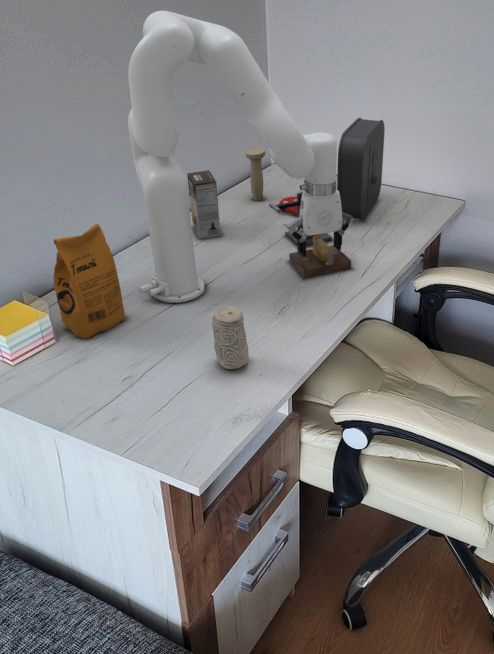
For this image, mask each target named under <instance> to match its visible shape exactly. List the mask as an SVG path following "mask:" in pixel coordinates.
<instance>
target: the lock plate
mask: <svg viewBox="0 0 494 654" xmlns="http://www.w3.org/2000/svg"><path fill="white" fill-rule="evenodd" d="M288 255H289V256H288V257H289V258H288V259H289V263H290V264H291V266H293V268H294V269H295V270H296V271H297V273H298V274H300V276H301V278H303V279H304V280H305V279H309V278H314V277H319V276H325V275H329V274H334V273H341V272H344V271H349V270H352V260H351V259H350V258H349V256H347V255H346V254H345V253H344V252H343V251H342V249H341V250H337V249H336V248H335V247H334V245H333V244H332V245H328V258H327V261H322V262H321V261H320V260H319V259H318V258H317V257H316V256H315V255H314V254H313V248H311V249H306V256H305V257H303V256H302V255H301V254H300V253H299V252H298V251H294V252H290V253H289V254H288Z"/></svg>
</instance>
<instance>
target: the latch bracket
mask: <svg viewBox="0 0 494 654" xmlns="http://www.w3.org/2000/svg"><path fill="white" fill-rule="evenodd" d="M303 192H304V191H301V192H300V193H299V192H297V193H296V197H297V201H298V200H301V198H302V194H303ZM299 214H300V205H299V206H297V215H296V219H297V218H298V217H299ZM299 230H300V226H297V227H296V229H295V231H296V232H297V233H298V232H299ZM284 233H285V234H284V235H285V237H286V238H287V239H288V240H289V241H291V242H292V243H293V244H294V245H296V247H298V241H297V239H296V238H294V237H293V236H292V235H291V233H290V231H289V230H288V231H285V232H284ZM313 236H318V235H313ZM313 236H309V235H308V236H307V238H306V239H305V240H304V241H305V242H306V248H308V247H311V246H312V247H313ZM319 236H320V237H321V238H322V239H323V240H324V241H325V242H326V243H330V242H333V236H331V235H330V234H329V233H325V234H319Z"/></svg>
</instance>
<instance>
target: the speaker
mask: <svg viewBox="0 0 494 654" xmlns="http://www.w3.org/2000/svg"><path fill="white" fill-rule="evenodd" d="M385 132H386V130H385V123H384V120H383V119H379V120H374V119H365V118H364V119H363V118H362V117H357V118H356V119H355V120H354V121H353V122H352V123H351V124H350V125H349V126H348V127H346V129H345V130H344V131H343V132H342V134H341V136H340V140H339V144H338V148H337V169H336V190H338V191H339V193H340V199H341V206H342V212H345V213H347V214H350V215H351V216H352V219H355V220H356V219H357V220H360V221H365V220H366V218H367V217H368V216H369V214H371V213H370V212H371V211H372V210H373V209H374V207H375V206H376V204H377V202H378V199H379V197H380V194H381V190H382V179H383V167H384V166H383V165H384V147H385V145H384V144H385Z"/></svg>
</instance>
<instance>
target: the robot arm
mask: <svg viewBox="0 0 494 654" xmlns="http://www.w3.org/2000/svg"><path fill="white" fill-rule="evenodd" d="M142 35H143V38H142V39H141V40H139V42H138V43H137V45H136V47H135V48H134V50H133V52H132V54H131V57H130V59H129V63H128V72H127V74H128V75H127V77H128V86H129V87H128V89H129V96H130V103H131V108H130V110H129V113H128V117H127V129H128V130H127V131H128V134H129V135H128V136H129V142H130V147H131V153H132V158H133V164H134V169H135V174H136V176H137V179H138V181H139V184H140V186H141V189H142V192H143V196H144V201H145V210H146V220H147V228H148V233H149V240H150V245H151V246H150V247H151V252H152V259H153V265H154V273H155V275H152V276H151V281H149V283H146V284H143V285H141V286H139V287H138V288H137V289H138V292H139V294H140V295H142V296H143V295H146V294H149V295H150V296H151V297H153V298H155V299H156V300H158V301H161V302H164V303H173V304H175V303H176V304H177V303H185V302H189V301H192V300H194V299H197V298H198V297H200V296H201V295H202V294H203V293H204V292H205V286H206V285H205V282H204V280H203V279H202V278H201V277H199V276H198V275H197V274H198V273H197V265H196V256H195V247H194V238H193V237H194V236H193V229H192V221H191V220H192V218H191V203H190V194H189V185H188V178H187V177H186V175H185V172H184V171H183V169H182V167H181V166H180V165H179V163H178V161H177V155H176V148H177V146H178V143H179V137H180V134H179V133H180V131H179V126H178V121H177V114H176V107H175V101H174V100H175V99H174V90H173V80H174V75H175V73H176V71H177V69H178V68H179V67H180V66H181V65H182V64H184V63H185V62H186V61H188V62H191V63H197V64H201V65H206V66H209V67H210V69H211V71H212V72H213V73H214V75H215V76H216V78H217V79H218V80H219V82H220V83H221V86H223V88H224V90H225V91H226V92H227V94H228V97H230V99H231V101H232V102H233V103H234V105H235V106H236V108H237V109H238V111H239V112H240V114H241V115H242V116H243V118H244V119H245V121H247V123H248V124H249V125H250V126H251V127H252V128H253V129H254V130H255V131H256V133H258V134H259V135H260V136H261V138H262V139H263V140H264V142H265V143H266V144H267V146H268V147H269V148H268V149H269V151H268V152H269V155H270V158H271V159H272V161H273V162H274V163H275V165H277V166H278V167H279V168H280V169H281V170H282V171H283V172H284V173H285V174H286V175H287V176H288V177H290V178H292V179H298V180H301V179H304V180H303V183H302V184H299V191H302V192H303V194H302V198H301V204H300V214H299V217H298V218H297V217H296V219H293V221H291V222H290V223H288V224H287V225H286V228H287V229H288V231H290V233H291V235H292V236H293V237H294V238H296V239H297V241H298V246H297V252H299V253H300V254H301V255H302V256H303V257H305V256H306V250H307V247H306V242H305V241H304V240H305V239H306V238H307V236H308V235H309V236H313V235H319V234H325V233H327V234H329V233H330V234H331V233H333V238H332V242H333V244H332V245H334V247H335V248H336V249H337V250H341V251H342V245H343V236H344V235H345V232H346V231H347V229H348V228H349V227H350V224H351V222H352V220H353V218H352V216H351V215H350V214H347V213H345V212H342V206H341V199H340V193H339V191H338V190H337V166H338V141H337V140H338V139H337V138H336V136H335V135H333V134H331V133H330V132H329V133H328V132H320V131H319V132H313V133H310V134H303V133H302V132H301V130H300V128H299V126H298V125H297V123H296V122H295V121H294V119H293V118H292V116H291V115H290V113H289V112H288V111H287V109H286V107H285V105H284V104H283V102H282V101H281V100H280V97H279V96H278V95H277V94H276V92H275V90H274V89H273V87H272V86H271V85H270V82H269V81H268V79H267V78H266V76H265V74H264V73H263V71H262V70H261V67H260V66H259V64H258V62H257V61H256V60H255V57H254V56H253V54H252V53H251V51H250V50H249V48H248V46H247V45H246V43H245V41H244V40H243V39H242V38H241V36H240V35H238V34H237V33H236V32H234V31H233V30H231V29H229V28H228V27H226V26H223V25H221V24H216V23H213V22H209V21H204V20H200V19H197V18H193V17H190V16H187V15H184V14H180V13H176V12H172V11H168V10H157V11H154V12H152V13H151V14H149V15H148V16H147V17H146V19H145V21H144V23H143V27H142ZM297 226H300V230H299V232H298V233H297V232H296V231H295V230H296V229H297Z"/></svg>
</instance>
